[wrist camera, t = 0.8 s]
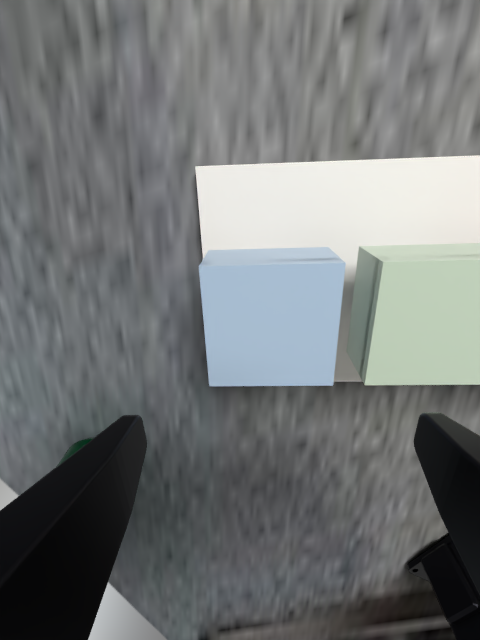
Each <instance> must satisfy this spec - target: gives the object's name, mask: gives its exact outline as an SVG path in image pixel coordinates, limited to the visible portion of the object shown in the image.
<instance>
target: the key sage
mask: <svg viewBox="0 0 480 640" xmlns="http://www.w3.org/2000/svg"><path fill="white" fill-rule="evenodd" d="M347 354H348V355H349V357H350V359H351V361H352V363H353V365H354V367H355V368H356V370H357V372H358V374H359V376H360V378H361V380H362V381H363V383H364V385H480V243H461V244H423V245H385V246H359V250H358V258H357V267H356V275H355V284H354V292H353V301H352V309H351V318H350V326H349V335H348V343H347Z"/></svg>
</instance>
